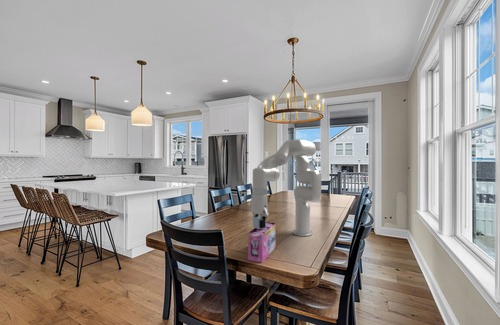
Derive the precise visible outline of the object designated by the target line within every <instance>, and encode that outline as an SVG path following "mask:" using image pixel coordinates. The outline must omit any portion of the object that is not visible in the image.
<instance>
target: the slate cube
mask: <svg viewBox="0 0 500 325" xmlns="http://www.w3.org/2000/svg"><path fill="white" fill-rule="evenodd" d="M260 220H261V219H260V215H259V217H252V227H253V229H254V228H257V229H262V228H260ZM266 222H267V219H266V220H265V228H266Z"/></svg>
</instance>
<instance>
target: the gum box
mask: <svg viewBox="0 0 500 325" xmlns="http://www.w3.org/2000/svg"><path fill="white" fill-rule="evenodd" d="M276 228H277V225H276V222H269V221H266V228H262V229H257V228H254V227H253V229H251V230H250V231H248V235H247V261H251V262H256V263H263V262H264V261H265V260H266V259H267V258H268V257H269V255H270V254H271V253H272V252H273V251H274V250H275V248H276V247H277V245H276V243H277V241H276V240H277V239H276V238H277V235H276V234H277V233H276V231H277V230H276Z"/></svg>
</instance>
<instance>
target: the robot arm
mask: <svg viewBox="0 0 500 325" xmlns="http://www.w3.org/2000/svg"><path fill="white" fill-rule="evenodd" d="M316 152H317V147H316V144H315V143H314V142H312V141H308V140H305V139H288V140H286V141H285V142H284V143H282V145H281V146H280V147H279V149H278V150H277V151H276V152H275V153H274V154H272V155H270V156H268V157H267V158H265V159H263V160H262V161H261V162H260V163H259V164H258V166H257V167H254V168H253V169H252V193H251V199H250V200H251V201H250V211H251V213H252V216H253V217H259V216H260V219H261V220H260V228H265V220H266V221H267V218H268V217H269V203H268V202H269V201H268V196H267V195H268V182H276V181H277V180H279V179H280V177H281V176H280V175H281V174H280V173H281V172H280V171H279V169H277V168H278V167H281V166H284V165H286V164H287V163H288V162H289V161H290V159H291V158H292V157H293V158H294V159H295V162H296V181H297V183H299V184H303V185H297V186H296V187H295V188H294V190H293V196H294V202H295V203H294V204H295V206H294V207H295V208H294V209H295V212H294V213H295V216H294V217H295V218H294V220H295V222H294V223H295V224H294V229H293V230H292V234H294V235H295V236H298V237H309V236H312V235H313V231H311V206H310V204H309V202H314V203H316V202H319V201H320V200H321V197H322V174H321V173H320V171H319V170H318V169H311V163H310V160H309V157H312V156H314V155H315V154H316ZM305 184H306V185H305ZM253 217H252V218H253Z"/></svg>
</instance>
